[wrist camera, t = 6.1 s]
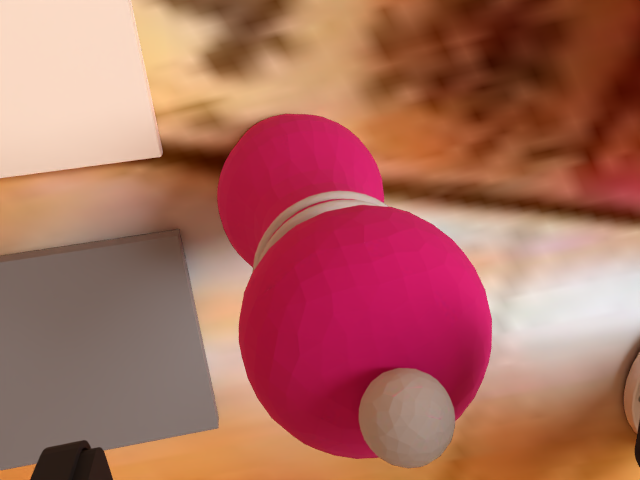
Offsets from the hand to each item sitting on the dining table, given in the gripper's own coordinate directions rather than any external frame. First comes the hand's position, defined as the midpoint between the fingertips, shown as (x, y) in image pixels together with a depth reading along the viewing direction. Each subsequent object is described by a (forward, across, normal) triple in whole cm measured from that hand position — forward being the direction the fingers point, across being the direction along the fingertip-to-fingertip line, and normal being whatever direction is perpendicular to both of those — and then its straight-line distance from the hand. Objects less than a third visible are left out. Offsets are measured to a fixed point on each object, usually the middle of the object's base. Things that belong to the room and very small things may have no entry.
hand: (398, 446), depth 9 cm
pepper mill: (+20, -1, 0) cm, 20 cm away
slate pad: (+20, +11, +8) cm, 25 cm away
